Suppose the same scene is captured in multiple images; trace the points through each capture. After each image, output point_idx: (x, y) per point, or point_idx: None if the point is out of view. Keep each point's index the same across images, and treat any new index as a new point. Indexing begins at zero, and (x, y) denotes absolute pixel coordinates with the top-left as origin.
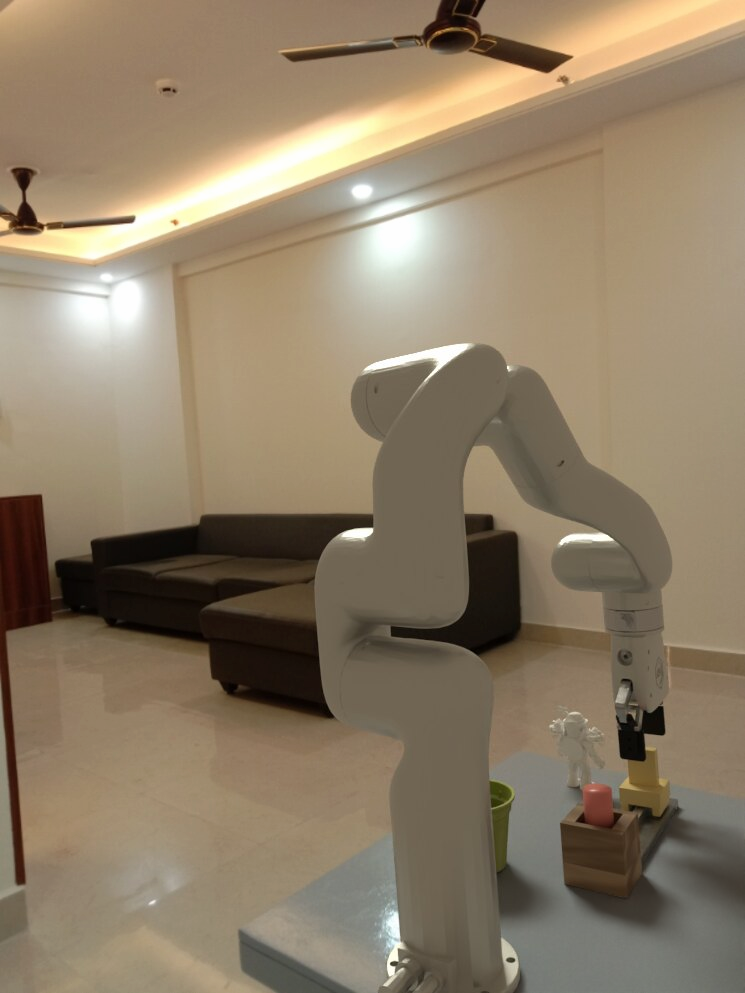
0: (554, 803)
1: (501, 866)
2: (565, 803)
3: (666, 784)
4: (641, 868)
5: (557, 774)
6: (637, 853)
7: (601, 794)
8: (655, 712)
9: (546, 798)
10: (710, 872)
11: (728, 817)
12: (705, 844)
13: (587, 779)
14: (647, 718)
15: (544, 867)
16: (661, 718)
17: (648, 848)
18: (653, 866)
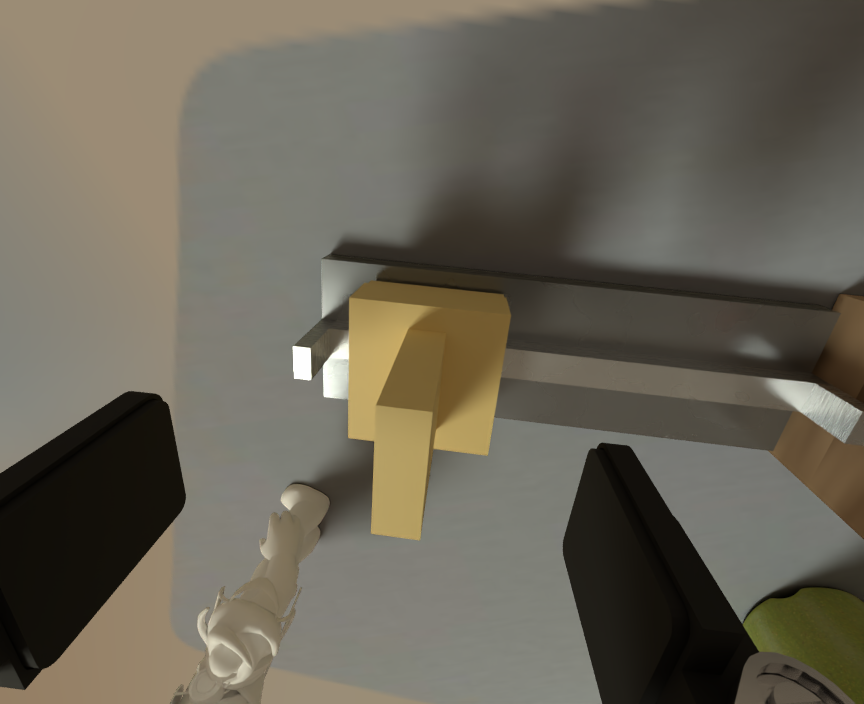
0: (433, 550)
1: (851, 598)
2: (424, 530)
3: (398, 302)
4: (855, 297)
5: None
6: None
7: None
8: (42, 545)
9: (410, 569)
10: (823, 76)
11: (348, 66)
12: (598, 124)
13: (311, 519)
14: (108, 548)
15: (810, 516)
16: (73, 473)
17: (710, 297)
18: (787, 268)
